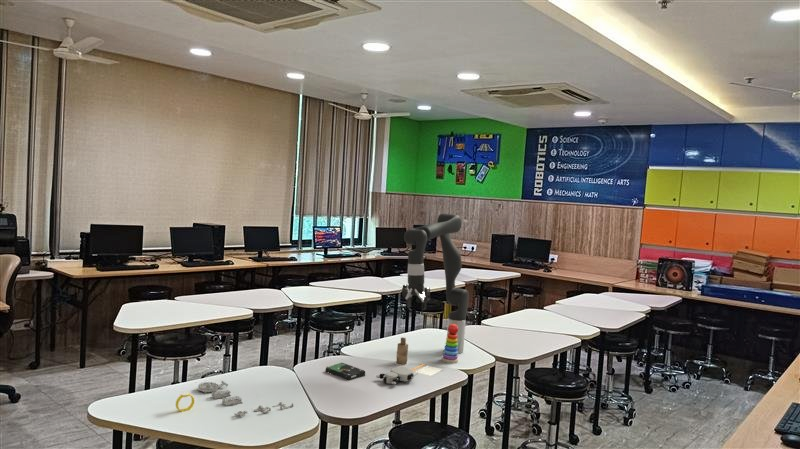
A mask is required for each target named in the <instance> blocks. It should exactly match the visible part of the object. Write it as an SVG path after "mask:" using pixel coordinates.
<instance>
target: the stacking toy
mask: <svg viewBox="0 0 800 449" xmlns="http://www.w3.org/2000/svg"><path fill="white" fill-rule="evenodd" d="M447 327H448V326H447ZM448 331H449V333H448V334H447V333H446V339H445V345H444V350H443V353H442V357H441V361H442V362H444V363H448V364H457V363H458V362H459V359H458V358H459V355H458V354H459V353H458V351H457V350H458V347H457V345H458V343H457V339H456V338H457V337H458V336H457V334H456V333H457V332H458V326H457V325H455V324H451V325H449V327H448Z"/></svg>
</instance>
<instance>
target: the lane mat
mask: <svg viewBox="0 0 800 449" xmlns="http://www.w3.org/2000/svg"><path fill="white" fill-rule="evenodd" d="M393 363H394V364H395V365H396V366H400V367H404V366H408V365H410V362H408V361H407V364H405V365H400V364H397V363H396V361H394V362H393ZM425 365H426V363H423V364H420V365H418V366H416V367H414V368H412V369H411V370H412V371H413V372H414V371H415V373H416V374H417V373H418V374H422V375H425V376H430V377H431V376H432V377H433V376H434V375H436V374H438V373H439V372H441V371H443V369H442V368H440V367H434V366H430V365H426V366H425ZM421 367H422V368H421Z"/></svg>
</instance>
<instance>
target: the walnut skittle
mask: <svg viewBox="0 0 800 449" xmlns="http://www.w3.org/2000/svg"><path fill="white" fill-rule="evenodd" d="M406 341H407V338H406V337H400V342H399V343H397V350H396V359H395V360H396V363H397V364H400V365H399V366H401V365H405V364H407V362H408V355H409V354H408V352H409V344H408V343H407V342H406ZM405 366H406V365H405Z"/></svg>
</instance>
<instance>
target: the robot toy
mask: <svg viewBox="0 0 800 449" xmlns="http://www.w3.org/2000/svg"><path fill="white" fill-rule="evenodd" d="M418 374H419V373H417V372H416V374H415V373H414V371H412V369H409V368H408V367H404V366H399V365H396V366H395V367H393V368H391V369H390V371H389V372H387V373H379V374H377V375H376V376H375V378H377V379H381V380H383V382H384V383H385V384H389V385H397V384H398V383H399V382H400V381H401V382H405V383H407V382H409V381H410V380H413V379H414V377H416V376H417V375H418Z"/></svg>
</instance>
